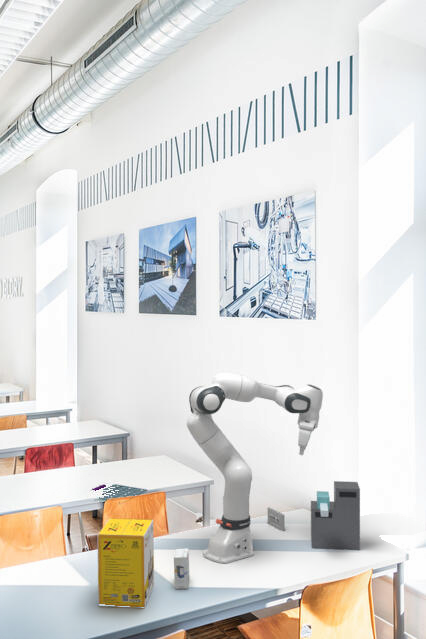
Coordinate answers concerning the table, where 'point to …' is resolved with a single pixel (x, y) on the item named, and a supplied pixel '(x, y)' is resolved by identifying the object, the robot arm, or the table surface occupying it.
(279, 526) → the cassette
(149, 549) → the packaging box
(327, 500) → the plug
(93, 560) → the table surface
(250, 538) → the robot arm
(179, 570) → the ink box
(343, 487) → the rack
